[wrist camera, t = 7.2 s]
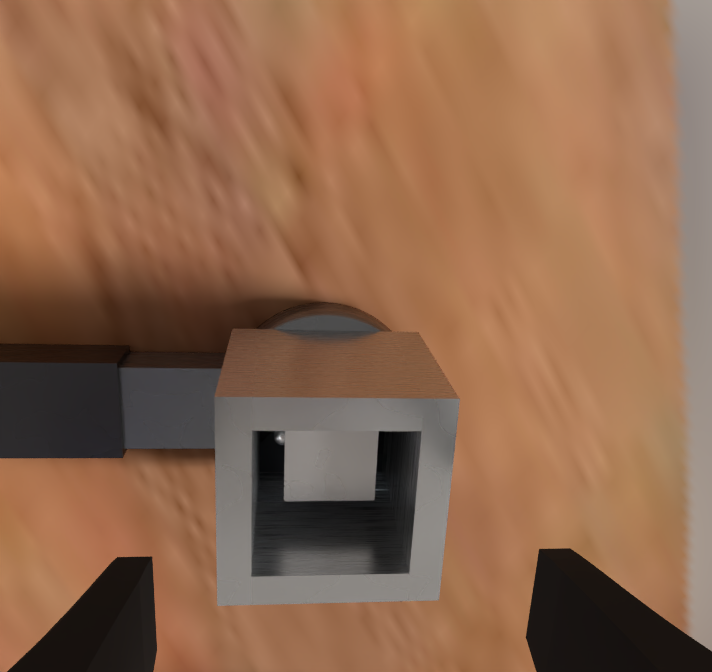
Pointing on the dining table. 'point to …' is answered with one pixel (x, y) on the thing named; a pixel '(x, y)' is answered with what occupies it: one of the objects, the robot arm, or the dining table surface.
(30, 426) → the ratchet
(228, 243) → the dining table surface
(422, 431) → the socket
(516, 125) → the dining table surface
